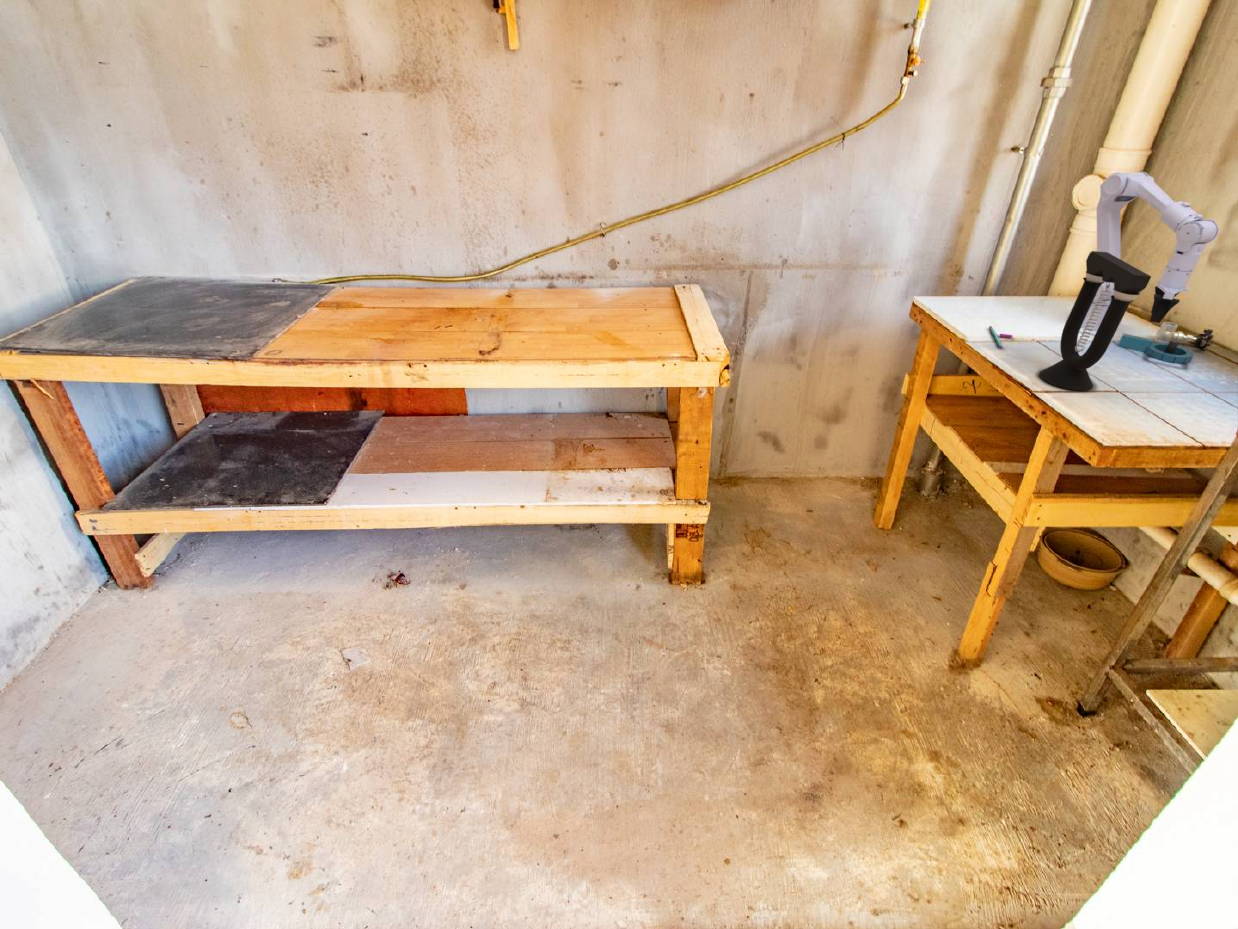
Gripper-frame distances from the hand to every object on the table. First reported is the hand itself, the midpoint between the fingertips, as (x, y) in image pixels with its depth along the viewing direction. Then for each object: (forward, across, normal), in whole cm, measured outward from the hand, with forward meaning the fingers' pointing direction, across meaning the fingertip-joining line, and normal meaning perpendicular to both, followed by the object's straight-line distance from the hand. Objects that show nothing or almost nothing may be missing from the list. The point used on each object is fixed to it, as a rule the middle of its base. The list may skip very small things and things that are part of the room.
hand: (1155, 317), depth 179 cm
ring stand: (+10, -2, -6) cm, 12 cm away
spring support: (+10, -34, +15) cm, 38 cm away
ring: (+9, -2, -3) cm, 9 cm away
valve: (+10, +10, -8) cm, 16 cm away
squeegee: (+10, -15, +32) cm, 37 cm away
